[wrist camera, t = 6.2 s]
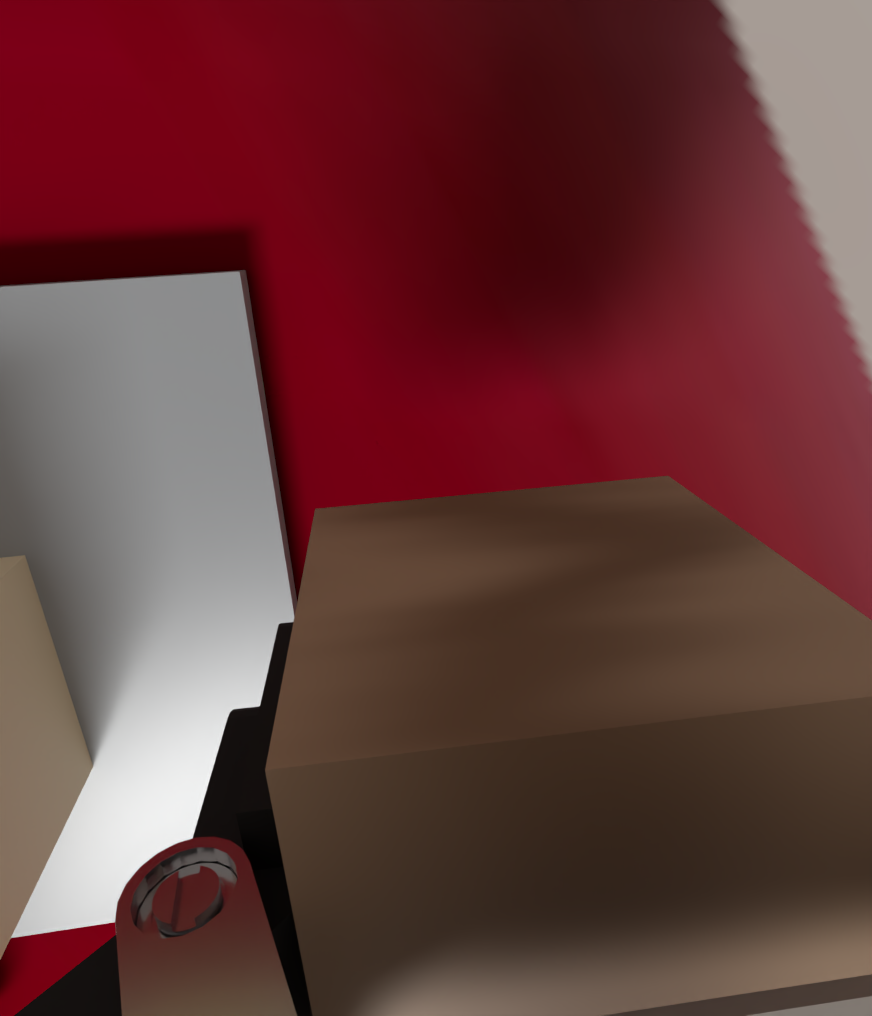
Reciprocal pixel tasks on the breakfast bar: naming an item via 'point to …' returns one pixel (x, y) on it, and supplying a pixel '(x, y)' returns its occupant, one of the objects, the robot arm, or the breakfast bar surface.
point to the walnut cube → (568, 758)
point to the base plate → (126, 575)
